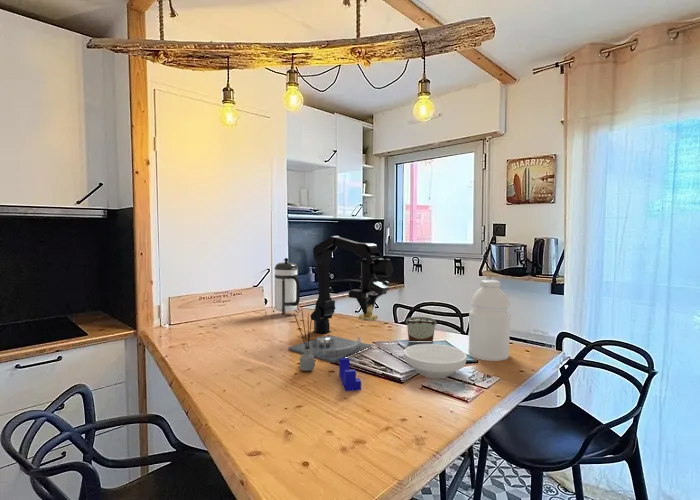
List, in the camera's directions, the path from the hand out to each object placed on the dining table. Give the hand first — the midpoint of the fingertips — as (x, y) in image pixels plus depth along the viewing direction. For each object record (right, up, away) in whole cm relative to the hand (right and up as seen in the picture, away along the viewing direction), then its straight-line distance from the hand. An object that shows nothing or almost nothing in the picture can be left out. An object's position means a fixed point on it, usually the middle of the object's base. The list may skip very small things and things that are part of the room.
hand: (367, 312), depth 160 cm
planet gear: (0, -3, 0) cm, 2 cm away
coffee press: (-41, -9, +56) cm, 70 cm away
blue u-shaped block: (-7, -15, -42) cm, 45 cm away
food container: (+22, -13, +2) cm, 25 cm away
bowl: (+20, -15, -34) cm, 42 cm away
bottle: (+43, -14, -17) cm, 48 cm away
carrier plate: (-14, -13, -8) cm, 21 cm away
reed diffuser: (-22, -14, -31) cm, 41 cm away
